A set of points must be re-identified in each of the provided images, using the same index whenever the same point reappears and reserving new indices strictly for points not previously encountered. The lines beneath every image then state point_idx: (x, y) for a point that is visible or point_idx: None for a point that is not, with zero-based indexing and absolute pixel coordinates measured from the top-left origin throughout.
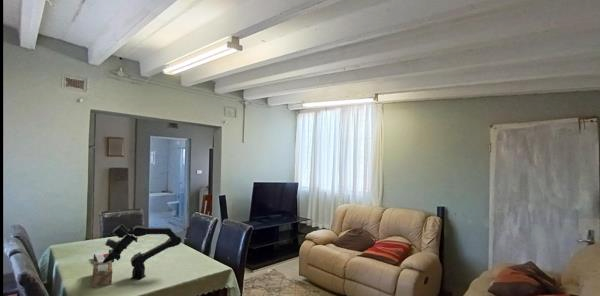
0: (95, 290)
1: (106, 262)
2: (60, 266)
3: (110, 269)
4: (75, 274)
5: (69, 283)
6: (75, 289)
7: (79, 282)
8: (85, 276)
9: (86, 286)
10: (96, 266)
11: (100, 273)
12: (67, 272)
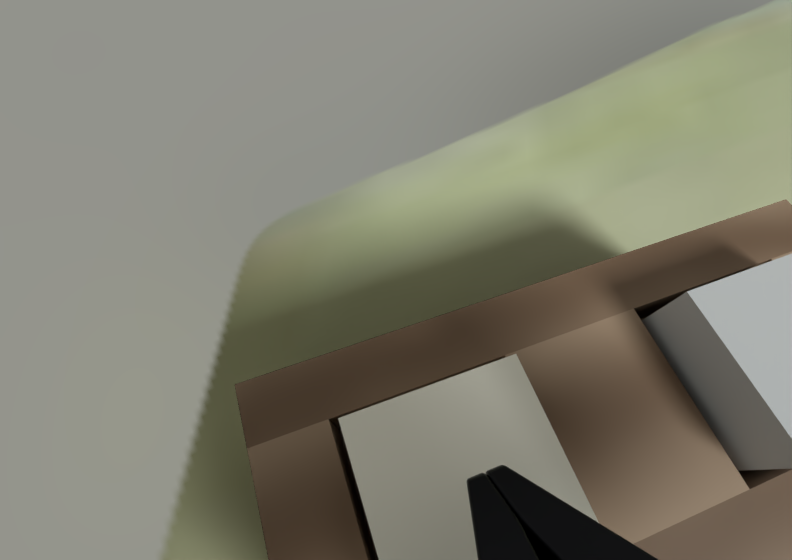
0: (176, 504)
1: (773, 445)
2: (774, 4)
3: None
4: (637, 144)
5: (421, 178)
6: (262, 277)
7: (443, 244)
8: (603, 236)
9: (326, 349)
10: (601, 310)
11: (264, 517)
12: (668, 80)
